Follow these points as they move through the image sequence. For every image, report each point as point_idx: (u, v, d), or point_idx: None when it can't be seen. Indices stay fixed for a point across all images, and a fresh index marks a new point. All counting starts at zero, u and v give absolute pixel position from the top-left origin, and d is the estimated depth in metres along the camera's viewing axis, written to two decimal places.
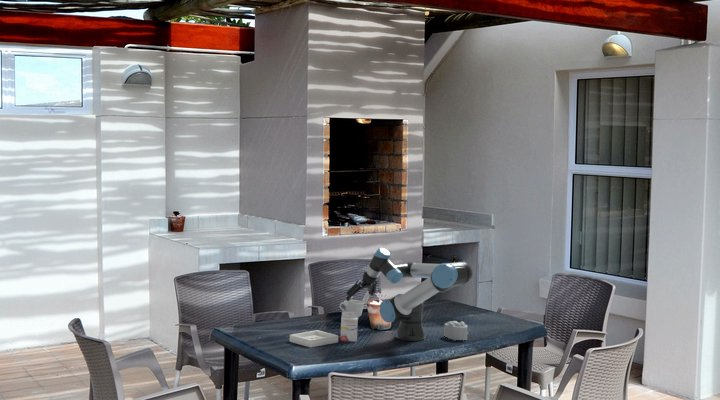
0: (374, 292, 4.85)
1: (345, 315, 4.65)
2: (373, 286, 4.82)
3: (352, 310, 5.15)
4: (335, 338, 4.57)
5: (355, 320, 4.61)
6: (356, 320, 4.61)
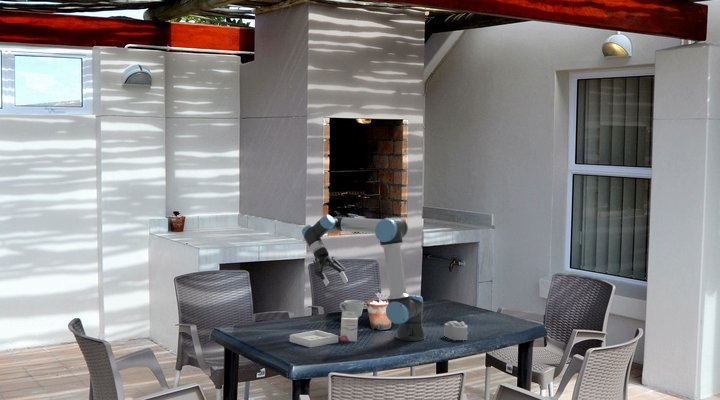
0: (344, 268, 4.79)
1: (345, 315, 4.65)
2: (337, 264, 4.79)
3: (352, 310, 5.15)
4: (335, 338, 4.57)
5: (355, 320, 4.61)
6: (356, 320, 4.61)
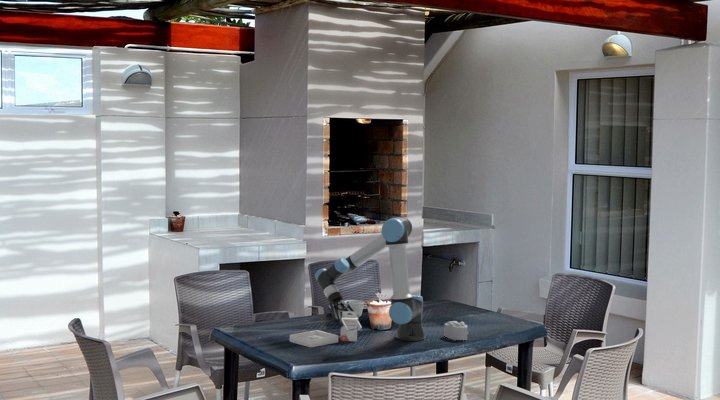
0: (357, 314, 4.69)
1: (345, 315, 4.65)
2: (350, 309, 4.70)
3: None
4: (335, 338, 4.57)
5: (355, 320, 4.61)
6: (356, 320, 4.61)
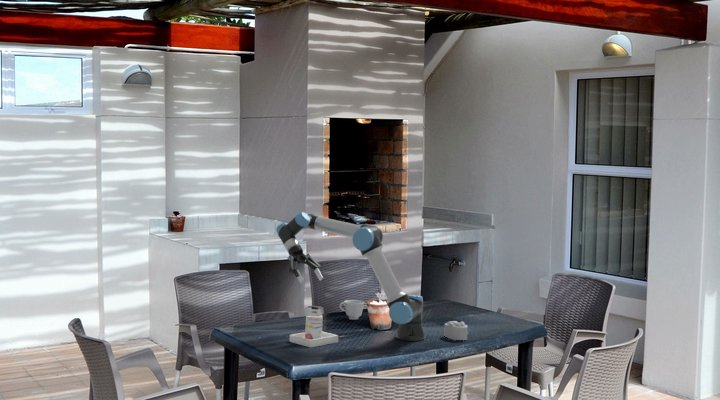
0: (319, 265, 4.77)
1: (310, 313, 4.58)
2: (312, 261, 4.78)
3: (352, 310, 5.15)
4: (335, 338, 4.57)
5: (320, 318, 4.54)
6: (321, 318, 4.54)
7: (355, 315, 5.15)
